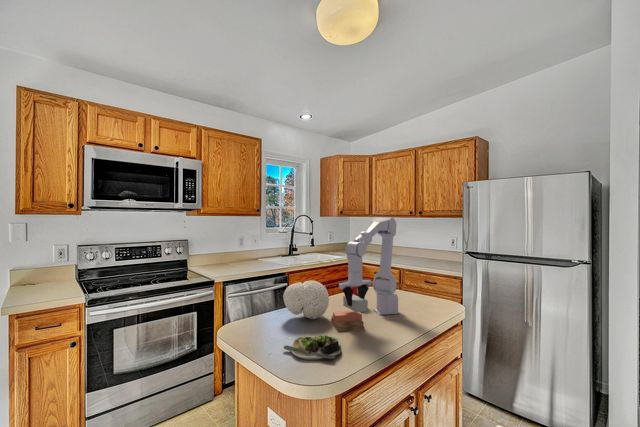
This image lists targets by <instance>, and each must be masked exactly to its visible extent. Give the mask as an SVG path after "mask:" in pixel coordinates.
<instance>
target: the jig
mask: <svg viewBox="0 0 640 427" xmlns="http://www.w3.org/2000/svg"><path fill="white" fill-rule="evenodd" d="M330 321H331V323H332V324H333V327H334V328H335V330H336V331H337V332H349V331H351V332H352V331H365V329H366V327H365V326H364V324H365V323H364V321H363V320H362V321H353V322H338V323H336V326H335V324H334V322H333V315H331V318H330Z"/></svg>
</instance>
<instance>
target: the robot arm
mask: <svg viewBox="0 0 640 427" xmlns="http://www.w3.org/2000/svg"><path fill="white" fill-rule="evenodd" d="M396 233H397V221H396V219H395V218H394V217H377V216H376V217H373V219H371V225H370V226H369V227H368V228H367V230H366V231H361V232H360V233H359V234H358V235H357V237H355V238H354V239H353V240H352V241H348V242H347V244H346V245H345V248H344V252H345V254H346V258H347V260H348V261H347V264H348V265H347V268H348V269H347V273H348V274H347V278H348V279H347V280H348V281H347V280H346V281H344V282H341V283H340V282H339V283H338V289H340V290H342V292H343V294H344V296H345V297H346V300H347V305H349V306H352V295H353V291H354V290H352V289H351V287H357V289H358V297H360V298H363V299H366V298H365V297H366V294H367V293H368V291H369V289H370V288H369V286H372V288H373V290H374V292H375V293H376V307H375V308H373V310H374V311H375V312H376V313H377V314H378V315H380V316H381V315H397V314H399V313H400V312H399V297H398V294H397V293H396V291H397V286H398V285H397V277H396V276H395V275H394V273H392V272H391V270H392V258H393V257H392V256H393V246H394V237H395V236H396V235H397V234H396ZM376 234H377V235H378V236H380V237H381V248H380V250H381V251H380V261H379V262H380V263H379V271H378V272H377V273H375V274H374V278H373V281H372V280H371V279H363V257H364V255H365V253H366V250H367V247H369V245H370V244H371V243H372V242H373V237H374V236H375V235H376Z"/></svg>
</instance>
